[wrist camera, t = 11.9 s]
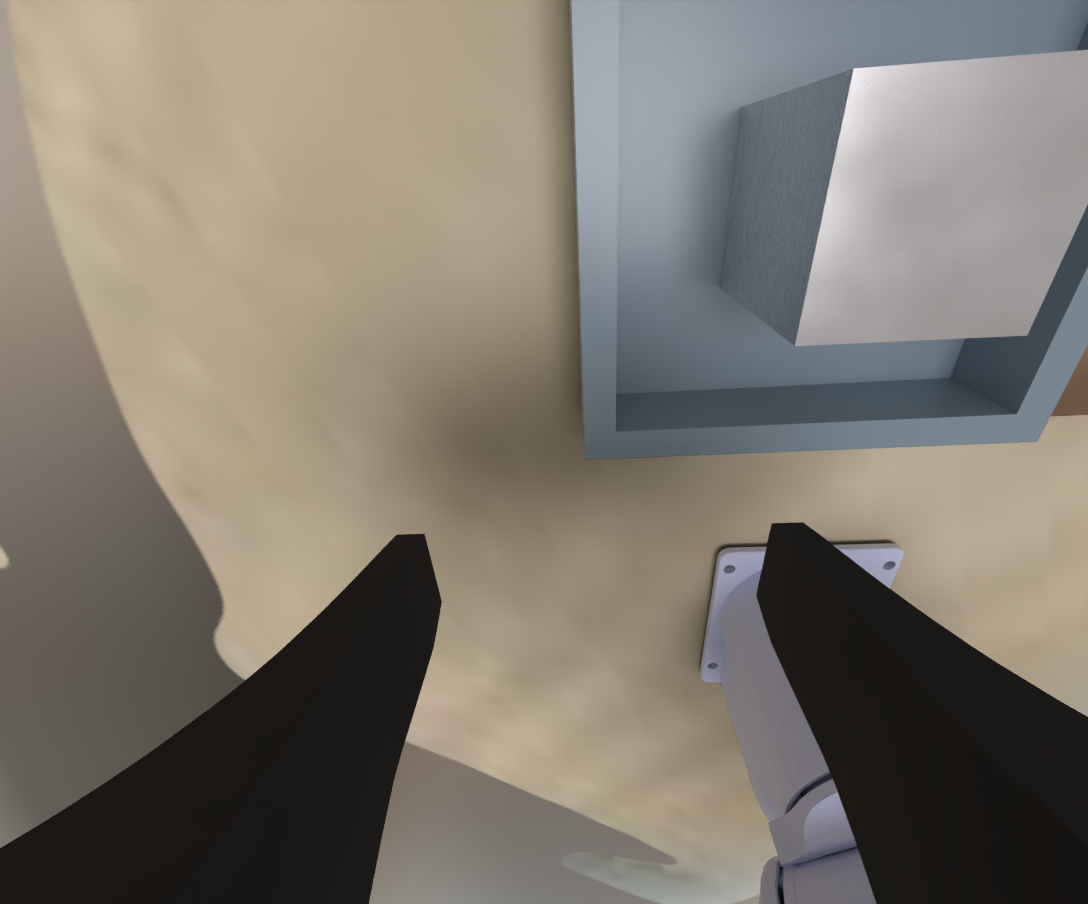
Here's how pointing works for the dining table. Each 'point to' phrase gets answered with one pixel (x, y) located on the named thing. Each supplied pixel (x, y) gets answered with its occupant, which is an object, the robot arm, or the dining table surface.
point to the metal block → (909, 199)
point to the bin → (700, 224)
